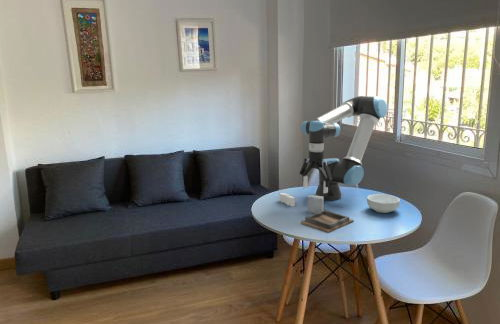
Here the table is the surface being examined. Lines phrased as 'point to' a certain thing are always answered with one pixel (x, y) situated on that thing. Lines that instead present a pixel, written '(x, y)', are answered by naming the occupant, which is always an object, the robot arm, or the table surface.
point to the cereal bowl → (383, 203)
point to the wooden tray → (326, 221)
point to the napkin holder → (287, 199)
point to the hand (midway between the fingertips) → (315, 190)
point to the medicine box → (315, 204)
